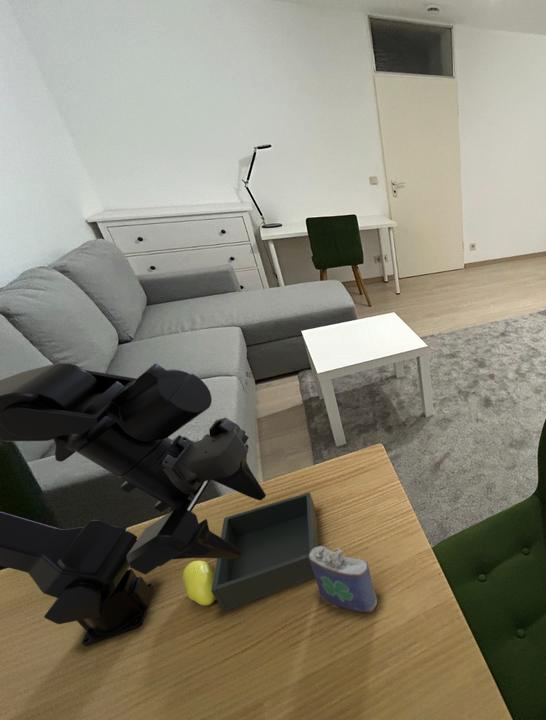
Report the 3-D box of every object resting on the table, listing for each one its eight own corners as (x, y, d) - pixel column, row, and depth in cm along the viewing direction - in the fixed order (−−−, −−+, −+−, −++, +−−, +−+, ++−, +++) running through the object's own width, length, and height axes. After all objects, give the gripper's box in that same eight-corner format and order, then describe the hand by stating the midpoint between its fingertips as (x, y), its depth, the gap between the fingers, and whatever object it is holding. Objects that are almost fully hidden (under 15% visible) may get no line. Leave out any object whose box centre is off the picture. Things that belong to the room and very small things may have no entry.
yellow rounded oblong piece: (185, 580, 60) (213, 563, 62) (198, 619, 55) (229, 599, 57) (174, 563, 58) (204, 546, 60) (187, 603, 53) (219, 582, 55)
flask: (380, 599, 57) (369, 552, 52) (370, 619, 54) (356, 573, 49) (327, 580, 59) (311, 534, 54) (314, 599, 57) (296, 553, 52)
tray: (223, 612, 56) (211, 591, 53) (233, 537, 66) (224, 517, 64) (320, 575, 60) (313, 555, 58) (316, 511, 71) (309, 491, 68)
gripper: (144, 480, 35) (277, 560, 43) (228, 377, 52) (314, 448, 59) (59, 538, 37) (202, 606, 44) (167, 420, 53) (258, 484, 60)
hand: (251, 524), depth 52 cm, fingers open, 9 cm apart
